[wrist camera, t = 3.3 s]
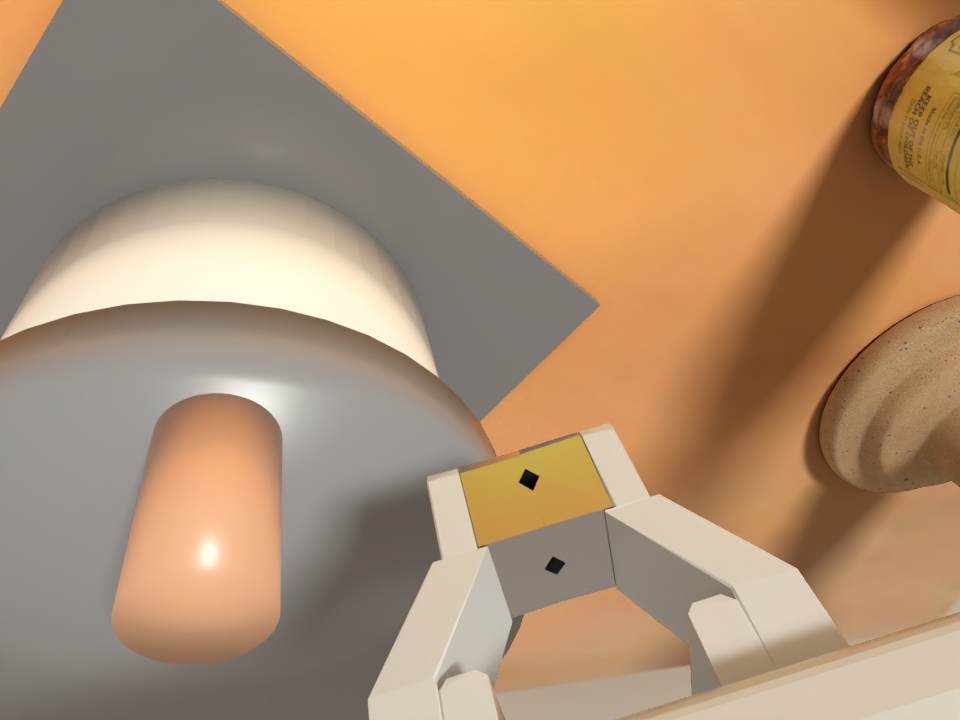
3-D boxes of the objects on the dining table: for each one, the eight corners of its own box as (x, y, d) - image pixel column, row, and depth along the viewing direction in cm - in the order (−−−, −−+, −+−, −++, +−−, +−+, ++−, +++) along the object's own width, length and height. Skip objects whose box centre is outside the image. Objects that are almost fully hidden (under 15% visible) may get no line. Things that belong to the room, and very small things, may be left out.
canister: (-175, 411, 25) (-367, 652, 18) (114, -85, 19) (2, -28, 12) (306, 582, 36) (310, 779, 28) (596, 299, 29) (699, 458, 22)
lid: (446, 694, 27) (485, 914, 21) (-69, 734, 22) (-185, 1029, 16) (572, 329, 18) (693, 544, 13) (-234, 263, 13) (-593, 564, 8)
